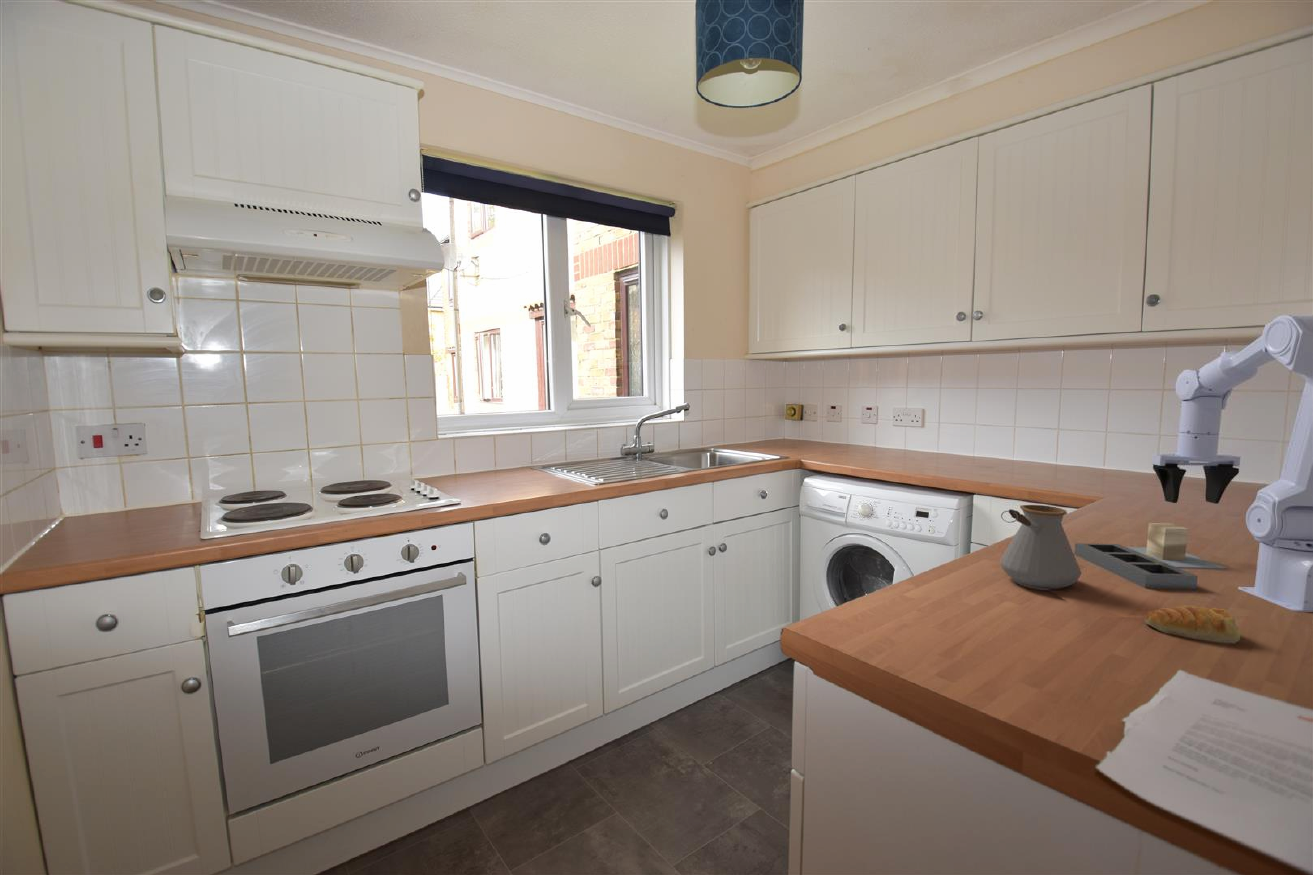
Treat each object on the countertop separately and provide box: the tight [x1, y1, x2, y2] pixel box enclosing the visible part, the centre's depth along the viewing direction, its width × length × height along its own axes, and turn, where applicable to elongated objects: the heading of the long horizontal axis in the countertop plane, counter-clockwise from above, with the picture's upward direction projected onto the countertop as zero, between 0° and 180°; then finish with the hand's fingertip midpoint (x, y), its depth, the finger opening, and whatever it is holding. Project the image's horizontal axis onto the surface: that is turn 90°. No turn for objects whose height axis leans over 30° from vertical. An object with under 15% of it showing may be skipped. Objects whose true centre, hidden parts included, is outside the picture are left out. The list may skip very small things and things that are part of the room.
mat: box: [1126, 546, 1228, 570], centre depth 112 cm, size 12×12×1 cm
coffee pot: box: [999, 504, 1082, 592], centre depth 96 cm, size 21×12×15 cm, turn 130°
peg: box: [1146, 522, 1189, 560], centre depth 112 cm, size 4×4×6 cm
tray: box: [1073, 542, 1198, 590], centre depth 105 cm, size 18×8×3 cm, turn 176°
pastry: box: [1144, 604, 1241, 645], centre depth 81 cm, size 9×7×4 cm
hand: (1191, 502), depth 114 cm, fingers open, 7 cm apart
